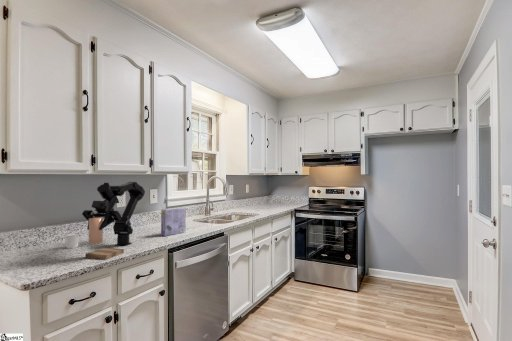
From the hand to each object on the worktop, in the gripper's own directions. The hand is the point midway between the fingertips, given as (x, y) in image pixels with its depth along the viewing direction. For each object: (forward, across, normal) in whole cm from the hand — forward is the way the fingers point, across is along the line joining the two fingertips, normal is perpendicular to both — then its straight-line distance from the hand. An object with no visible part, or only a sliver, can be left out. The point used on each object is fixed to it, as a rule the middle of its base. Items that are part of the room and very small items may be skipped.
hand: (93, 229), depth 141 cm
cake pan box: (-32, +15, +53) cm, 64 cm away
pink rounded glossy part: (+4, 0, +6) cm, 7 cm away
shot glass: (-2, -26, +22) cm, 34 cm away
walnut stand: (+7, +4, +12) cm, 14 cm away
